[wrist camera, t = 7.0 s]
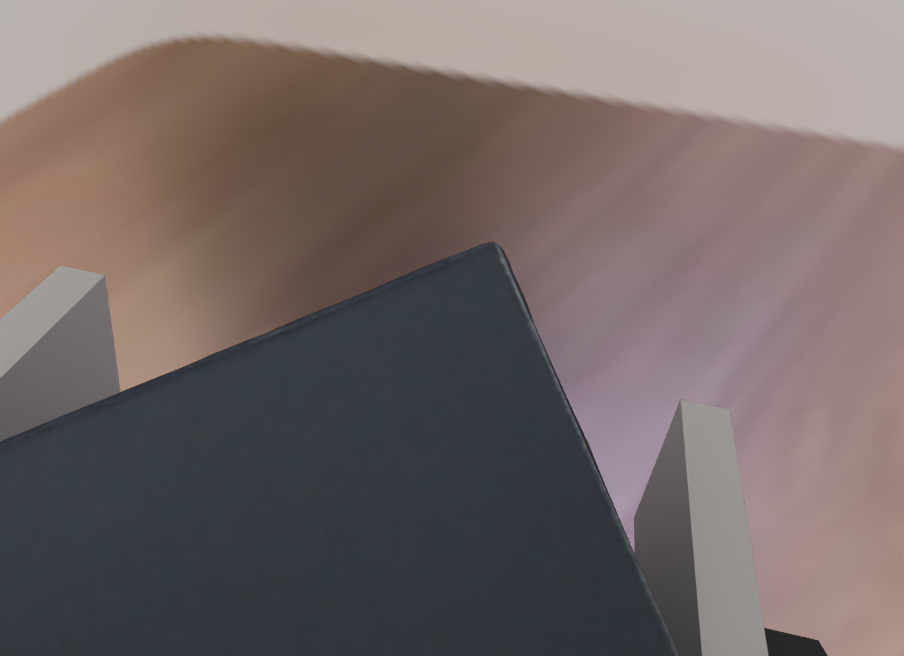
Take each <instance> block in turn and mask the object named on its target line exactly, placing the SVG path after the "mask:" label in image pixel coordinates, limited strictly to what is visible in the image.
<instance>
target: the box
mask: <svg viewBox="0 0 904 656" xmlns="http://www.w3.org/2000/svg"><path fill="white" fill-rule="evenodd" d="M0 656H679V655H678V652H677V650H676V648H675V646H674V643H673V641H672V639H671V637H670V634H669V632H668V630H667V628H666V625H665V623H664V621H663V618H662V616H661V614H660V612H659V609H658V607H657V605H656V603H655V600H654V598H653V596H652V594H651V591H650V589H649V587H648V584H647V582H646V580H645V578H644V575H643V573H642V571H641V568H640V566H639V564H638V561H637V559H636V556H635V554H634V552H633V549H632V547H631V545H630V542H629V540H628V538H627V535H626V533H625V531H624V528H623V526H622V524H621V521H620V519H619V517H618V514H617V512H616V509H615V507H614V505H613V502H612V500H611V498H610V495H609V493H608V491H607V488H606V486H605V484H604V481H603V479H602V476H601V474H600V471H599V469H598V467H597V464H596V462H595V459H594V457H593V454H592V452H591V449H590V447H589V444H588V442H587V440H586V438H585V436H584V433H583V431H582V429H581V427H580V425H579V423H578V420H577V418H576V416H575V414H574V412H573V410H572V407H571V405H570V403H569V401H568V399H567V397H566V394H565V392H564V390H563V388H562V386H561V383H560V381H559V379H558V377H557V374H556V372H555V370H554V368H553V365H552V363H551V361H550V359H549V356H548V354H547V352H546V350H545V347H544V345H543V343H542V340H541V338H540V336H539V334H538V331H537V329H536V327H535V325H534V322H533V319H532V316H531V314H530V311H529V308H528V305H527V302H526V300H525V298H524V296H523V293H522V291H521V289H520V287H519V285H518V282H517V280H516V278H515V276H514V274H513V271H512V269H511V266H510V263H509V261H508V259H507V257H506V255H505V253H504V251H503V249H502V248H501V247H500V246H499V245H497V244H496V243H494V242H490V243H486V244H481V245H479V246H476V247H474V248H471V249H469V250H466V251H464V252H461V253H459V254H456V255H454V256H451V257H449V258H446V259H443V260H441V261H438V262H436V263H433V264H430V265H428V266H425V267H423V268H421V269H418V270H416V271H414V272H411V273H409V274H407V275H404V276H402V277H400V278H397V279H395V280H393V281H390V282H388V283H386V284H384V285H381V286H379V287H377V288H374V289H372V290H370V291H367V292H365V293H363V294H360V295H358V296H355V297H353V298H350V299H348V300H346V301H343V302H341V303H338V304H336V305H333V306H330V307H328V308H325V309H323V310H320V311H318V312H315V313H313V314H310V315H308V316H305V317H303V318H300V319H298V320H295V321H293V322H291V323H288V324H286V325H284V326H281V327H279V328H277V329H275V330H272V331H270V332H268V333H266V334H263V335H260V336H258V337H255V338H252V339H250V340H247V341H244V342H242V343H240V344H237V345H235V346H232V347H230V348H227V349H225V350H222V351H220V352H217V353H215V354H212V355H210V356H207V357H205V358H203V359H201V360H198V361H196V362H194V363H191V364H189V365H187V366H185V367H182V368H180V369H177V370H175V371H172V372H170V373H167V374H165V375H162V376H160V377H157V378H155V379H152V380H150V381H147V382H145V383H142V384H140V385H137V386H135V387H132V388H130V389H127V390H125V391H122V392H120V393H117V394H115V395H112V396H110V397H107V398H105V399H102V400H100V401H97V402H95V403H92V404H90V405H87V406H85V407H82V408H80V409H77V410H75V411H72V412H70V413H68V414H65V415H63V416H60V417H58V418H56V419H53V420H51V421H48V422H46V423H43V424H41V425H39V426H36V427H34V428H31V429H29V430H27V431H24V432H22V433H19V434H17V435H15V436H12V437H10V438H7V439H5V440H2V441H0Z"/></svg>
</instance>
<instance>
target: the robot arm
mask: <svg viewBox="0 0 904 656" xmlns="http://www.w3.org/2000/svg"><path fill="white" fill-rule="evenodd" d="M117 393H120V385H119V377H118V370H117V362H116V355H115V347H114V340H113V332H112V324H111V317H110V309H109V302H108V294H107V287H106V279H105V275H102V274H98V273H93V272H88V271H84V270H79V269H74V268H70V267H65V266H60V267H58V268H57V269H56V270H55V271H54V272H53V273H52V274H51V275H49V276H48V277H47V278H46V279H45V280H44V281H43V282H42V283H40V284H39V285H38V286H37V287H36V288H35V289H34V290H33V291H31V292H30V293H29V294H28V295H27V296H26V297H25V298H24V299H23V300H21V301H20V302H19V303H18V304H17V305H16V306H15V307H14V308H12V309H11V310H10V311H9V312H8V313H7V314H6V315H5V316H3V317H2V318H1V319H0V441H2V440H5V439H7V438H10V437H12V436H15V435H17V434H19V433H22V432H24V431H27V430H29V429H31V428H34V427H36V426H39V425H41V424H43V423H46V422H48V421H51V420H53V419H56V418H58V417H60V416H63V415H65V414H68V413H70V412H72V411H75V410H77V409H80V408H82V407H85V406H87V405H90V404H92V403H95V402H97V401H100V400H102V399H105V398H107V397H110V396H112V395H115V394H117ZM634 538H635V556H636V559H637V561H638V564H639V566H640V568H641V571H642V573H643V575H644V578H645V580H646V582H647V584H648V587H649V589H650V591H651V594H652V596H653V598H654V600H655V603H656V605H657V607H658V609H659V612H660V614H661V616H662V618H663V621H664V623H665V625H666V628H667V630H668V632H669V634H670V637H671V639H672V641H673V643H674V646H675V648H676V650H677V652H678V655H679V656H827V654H826V652H825V651H824V649H823V647H822V646H821V644H820V642H819V641H818V640H814V639H810V638H805V637H801V636H797V635H792V634H788V633H784V632H779V631H775V630H771V629H767V628H764V624H763V618H762V611H761V605H760V599H759V592H758V586H757V580H756V573H755V567H754V561H753V554H752V548H751V542H750V535H749V529H748V523H747V516H746V510H745V504H744V497H743V491H742V485H741V478H740V472H739V466H738V459H737V453H736V447H735V440H734V434H733V428H732V421H731V415H730V410H729V409H724V408H720V407H715V406H710V405H706V404H701V403H696V402H692V401H687V400H682V399H681V400H680V402H679V405H678V407H677V410H676V412H675V415H674V417H673V420H672V423H671V425H670V428H669V430H668V433H667V435H666V438H665V440H664V443H663V446H662V448H661V451H660V453H659V456H658V458H657V461H656V463H655V466H654V468H653V471H652V474H651V476H650V479H649V481H648V484H647V486H646V489H645V491H644V494H643V497H642V499H641V502H640V504H639V507H638V509H637V512H636V514H635V517H634Z"/></svg>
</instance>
